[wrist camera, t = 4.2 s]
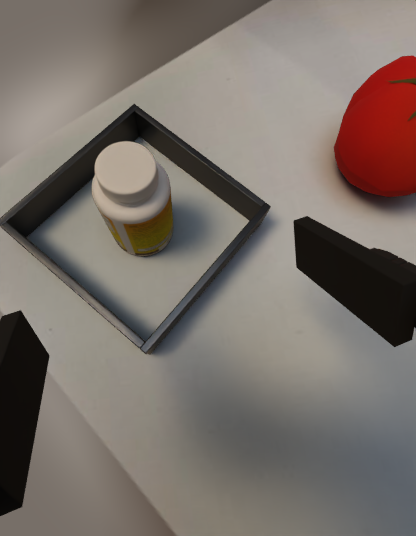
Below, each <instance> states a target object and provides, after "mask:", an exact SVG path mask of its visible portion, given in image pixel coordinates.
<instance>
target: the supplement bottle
mask: <svg viewBox="0 0 416 536" xmlns="http://www.w3.org/2000/svg"><path fill="white" fill-rule="evenodd" d="M92 195H93V199H94V201H95V204H96V206H97V208H98V209H99V211H100V213H101V215H102V217H103V219H104V221H105V222H106V224H107V226H108V228H109V230H110V231H111V233H112V235H113V237H114V238H115V240H116V242H117V243H118V245H119V246H120V247H121V248H122V249H123V250H125V251H126V252H128V253H130V254H133V255H137V256H149V255H153V254H156V253H158V252H159V251H161V250H162V249H163V248H165V247H166V245H167V244H168V243H169V241H170V239H171V237H172V234H173V215H172V202H171V189H170V182H169V178H168V175H167V173H166V171H165V170H164V168H163V167H162V166H161V165H160V164H159V163H158V162H157V161H155V158H154V156H153V155H152V153H151V152H150V151H149V150H148V149H147V148H146V147H144V146H142V145H141V144H138V143H135V142H129V141H123V142H117V143H114V144H111V145H109V146H108V147H106V148H105V149H104V150H102V151H101V153H100V154H99V155H98V157H97V159H96V162H95V175H94V178H93V181H92Z"/></svg>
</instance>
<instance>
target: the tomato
mask: <svg viewBox="0 0 416 536" xmlns="http://www.w3.org/2000/svg"><path fill="white" fill-rule="evenodd" d="M334 152H335V159H336V162H337V165H338V168H339V170H340V171H341V172H342V174H343V175H344V176H345V177H346V179H347V180H348V181H349V182H350V183H351V184H353V185H355V186H356V187H358V188H360V189H362V190H363V191H365V192H368V193H372V194H377V195H381V196H386V197H395V196H405V195H410V194H413V193H416V57H414V56H402V57H400V58H398V59H397V60H395V61H393V62H391V63H389V64H388V65H386V66H384V67H382V68H380V69H379V70H377V71H376V72H375V73H374V74H372V75H371V76H370V77H369V78H368V79H367V80H366V81H365V83H364V84H363V85H362V86H361V87H360V88H359V89H358V90H357V91H356V92H355V93H354V94H353V97H352V99H351V101H350V103H349V105H348V107H347V109H346V112H345V114H344V116H343V120H342V123H341V127H340V131H339V134H338V137H337V140H336V143H335V146H334Z"/></svg>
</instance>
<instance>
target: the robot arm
mask: <svg viewBox="0 0 416 536" xmlns="http://www.w3.org/2000/svg"><path fill="white" fill-rule="evenodd" d="M294 235H295V251H296V266H297V268H298V269H299V270H300V271H302V272H303V273H304V274H305V275H306V276H308V277H309V278H310V279H311V280H313V281H314V282H315V283H316V284H318V285H319V286H320V287H321V288H322V289H324V290H325V291H326V292H327V293H329V294H330V295H331V296H332V297H333V298H335V299H336V300H337V301H338V302H340V303H341V304H342V305H343V306H345V307H346V308H347V309H348V310H349V311H351V312H352V313H353V314H354V315H356V316H357V317H358V318H359V319H361V320H362V321H363V322H364V323H365V324H367V325H368V326H369V327H370V328H372V329H373V330H374V331H375V332H377V333H378V334H379V335H380V336H381V337H383V338H384V339H385V340H386V341H388V342H389V343H390V344H391V345H393V346H394V347H396V346H398V345H401V344H403V343H405V342H408V341H410V340H412V337H413V331H414V327H415V328H416V265H414V264H412V263H410V262H408V263H407V261H406V260H404V259H402V258H398V256H396V255H394V254H392V253H390V252H388V251H384V250H380V249H376V248H372V249H368V248H366V247H364V246H362V245H360V244H358V243H357V242H355V241H353V240H351V239H349V238H347V237H345V236H343V235H342V234H340V233H338V232H336V231H334V230H332V229H330V228H328V227H326V226H325V225H323V224H321V223H319V222H317V221H315V220H313V219H311V218H309V217H308V216H306V217H303V218H300V219H297V220H294ZM48 361H49V354H48V353H47V351H46V349H45V348H44V346H43V345H42V343H41V342H40V340H39V338H38V337H37V335H36V334H35V332H34V330H33V329H32V327H31V326H30V324H29V323H28V321H27V319H26V318H25V316H24V315H23V313H22V312H21V310H20V311H17V312H14V313H11V314H8V315H5V316H2V318H1V320H0V516H2V515H4V514H7V513H8V512H11V511H13V510H16V509H18V508H21V507H22V504H23V499H24V493H25V488H26V482H27V476H28V471H29V465H30V460H31V454H32V449H33V443H34V438H35V432H36V427H37V421H38V415H39V410H40V405H41V399H42V394H43V388H44V383H45V376H46V372H47V366H48Z"/></svg>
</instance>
